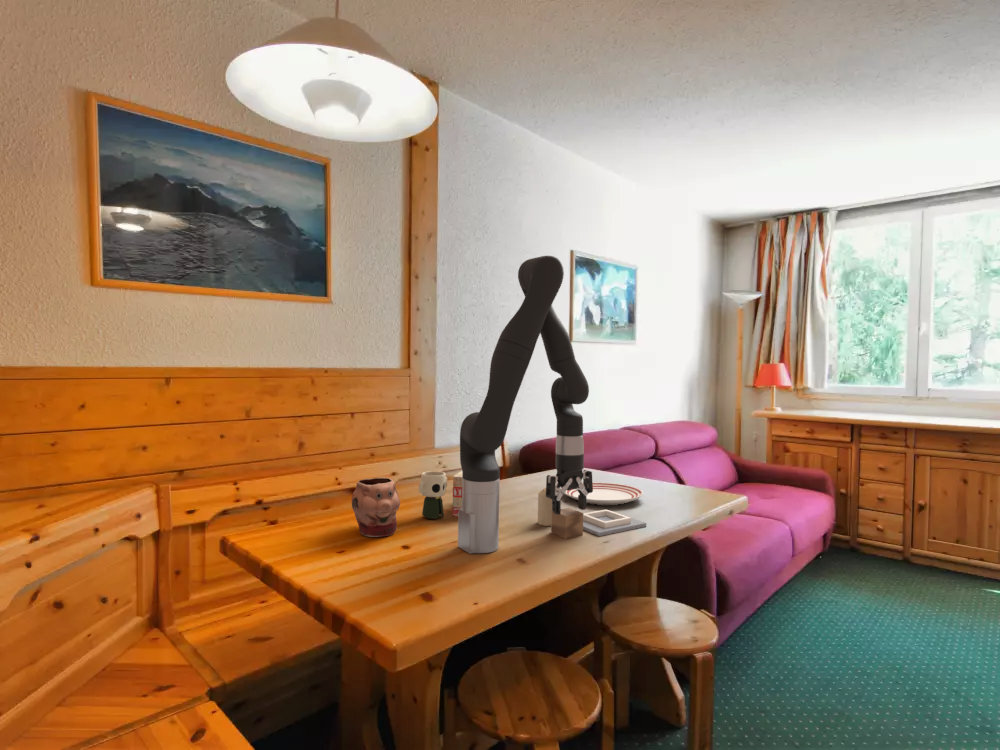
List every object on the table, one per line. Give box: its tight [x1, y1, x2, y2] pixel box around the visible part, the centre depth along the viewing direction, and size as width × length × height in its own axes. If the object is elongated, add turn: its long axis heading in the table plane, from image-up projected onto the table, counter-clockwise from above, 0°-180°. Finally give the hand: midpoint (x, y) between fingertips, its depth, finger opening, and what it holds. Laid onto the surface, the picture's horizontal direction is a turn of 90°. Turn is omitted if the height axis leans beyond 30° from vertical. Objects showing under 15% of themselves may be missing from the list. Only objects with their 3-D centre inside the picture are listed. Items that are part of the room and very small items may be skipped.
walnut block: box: [550, 507, 584, 539], centre depth 147 cm, size 6×6×6 cm
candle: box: [537, 487, 552, 527], centre depth 155 cm, size 6×6×10 cm
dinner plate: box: [564, 481, 644, 506], centre depth 186 cm, size 28×27×3 cm
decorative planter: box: [351, 477, 401, 538], centre depth 146 cm, size 20×12×14 cm, turn 36°
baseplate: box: [582, 509, 647, 537], centre depth 155 cm, size 18×14×2 cm
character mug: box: [418, 470, 448, 519], centre depth 159 cm, size 11×7×13 cm, turn 140°
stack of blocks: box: [451, 470, 462, 516], centre depth 170 cm, size 21×6×12 cm, turn 168°
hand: (569, 511), depth 146 cm, fingers open, 8 cm apart
